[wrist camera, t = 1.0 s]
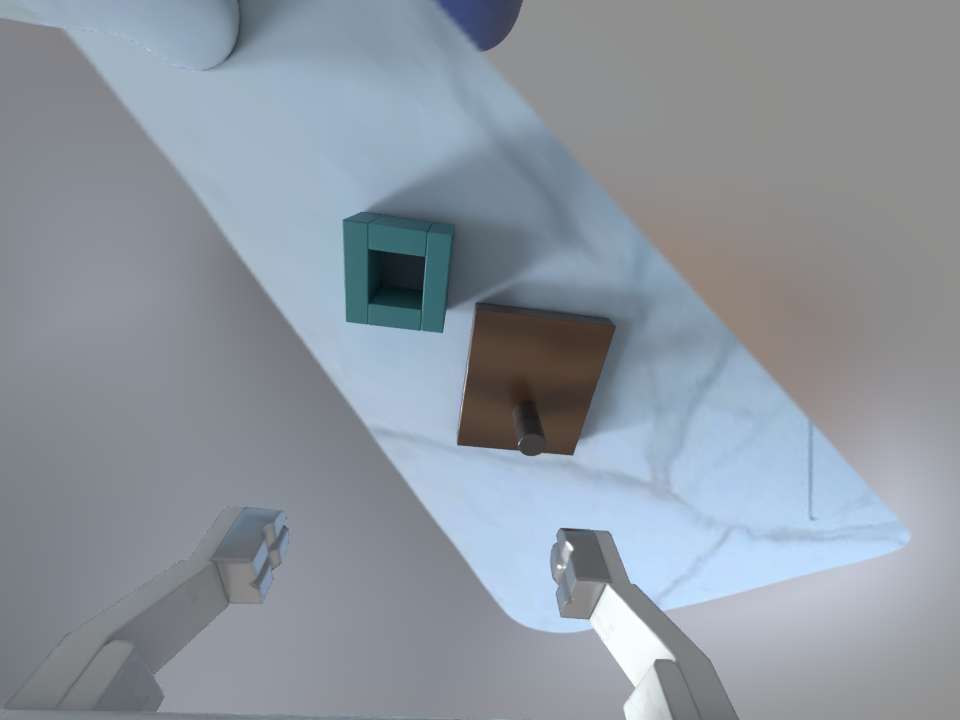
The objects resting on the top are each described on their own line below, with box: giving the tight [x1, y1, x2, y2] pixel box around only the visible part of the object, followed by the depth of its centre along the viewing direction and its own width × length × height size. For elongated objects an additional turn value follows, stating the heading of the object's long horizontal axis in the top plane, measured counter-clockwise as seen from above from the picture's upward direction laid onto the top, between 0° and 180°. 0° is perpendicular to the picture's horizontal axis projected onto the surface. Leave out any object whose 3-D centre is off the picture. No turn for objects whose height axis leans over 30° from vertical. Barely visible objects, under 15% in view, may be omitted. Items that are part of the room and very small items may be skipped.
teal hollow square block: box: [342, 212, 455, 333], centre depth 23 cm, size 6×6×4 cm
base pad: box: [457, 302, 615, 456], centre depth 27 cm, size 12×10×6 cm
